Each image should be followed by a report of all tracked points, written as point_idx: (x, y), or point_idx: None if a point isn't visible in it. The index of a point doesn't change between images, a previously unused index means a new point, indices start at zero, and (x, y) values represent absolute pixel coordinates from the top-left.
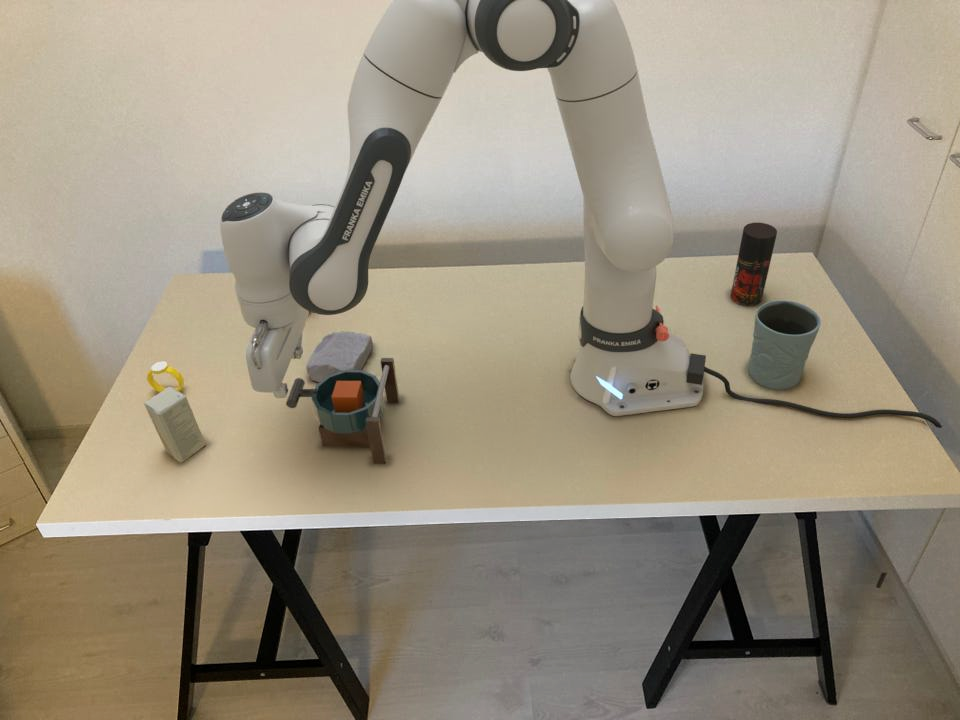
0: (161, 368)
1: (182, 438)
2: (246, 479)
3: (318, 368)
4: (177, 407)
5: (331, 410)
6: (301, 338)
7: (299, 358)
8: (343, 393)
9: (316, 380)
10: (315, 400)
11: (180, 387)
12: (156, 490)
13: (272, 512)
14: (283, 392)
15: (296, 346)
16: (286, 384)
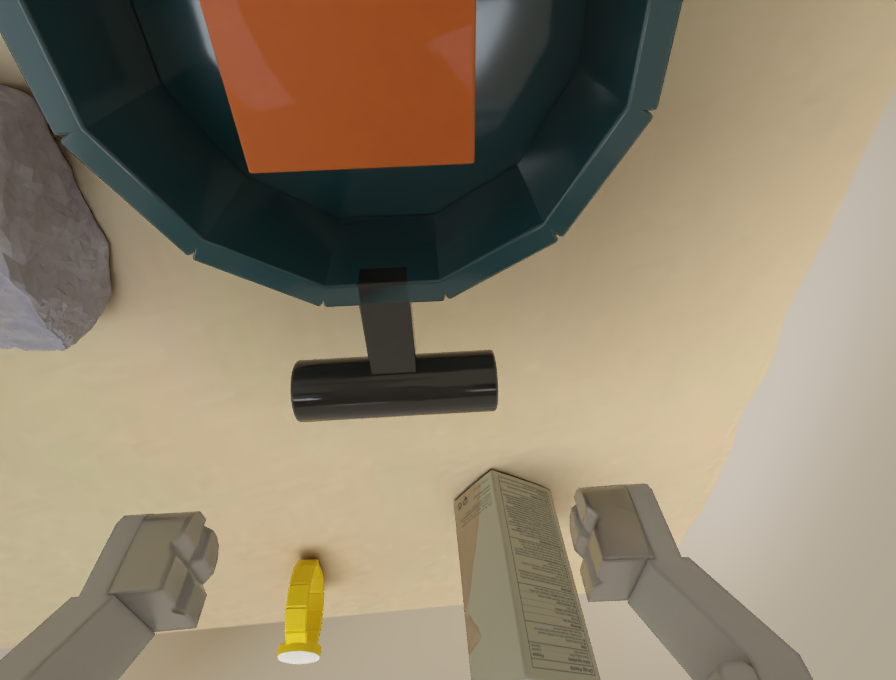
0: (306, 654)
1: (546, 546)
2: (641, 350)
3: (53, 301)
4: (554, 661)
5: None
6: (22, 662)
7: (199, 514)
8: (418, 54)
9: (106, 279)
10: (477, 271)
11: (312, 573)
12: None
13: (823, 237)
14: (667, 532)
15: (126, 614)
16: (606, 552)
